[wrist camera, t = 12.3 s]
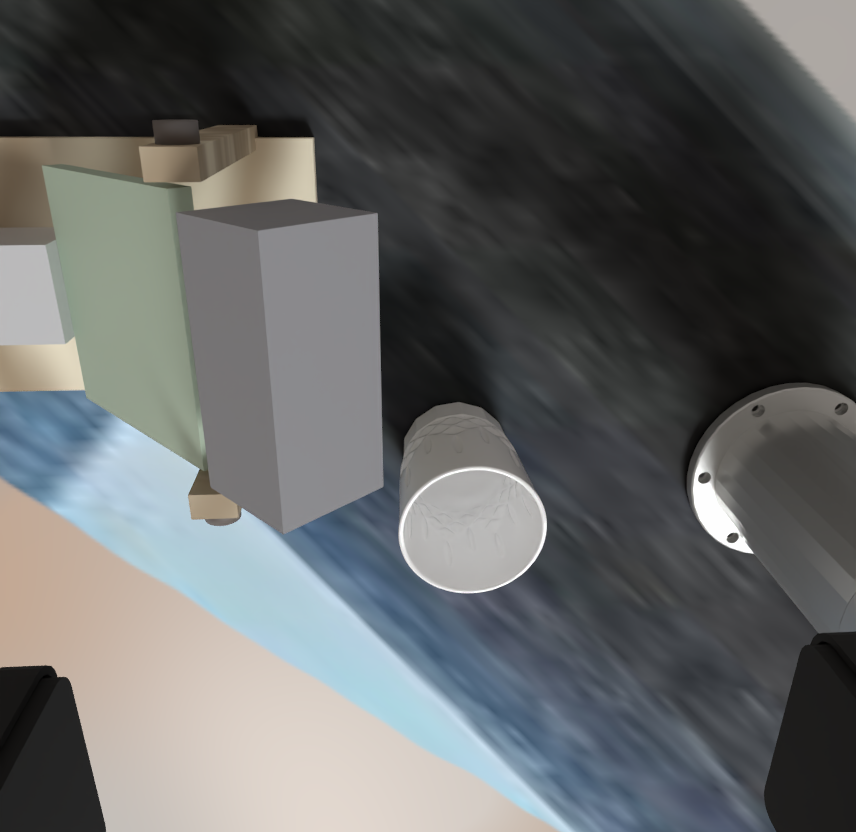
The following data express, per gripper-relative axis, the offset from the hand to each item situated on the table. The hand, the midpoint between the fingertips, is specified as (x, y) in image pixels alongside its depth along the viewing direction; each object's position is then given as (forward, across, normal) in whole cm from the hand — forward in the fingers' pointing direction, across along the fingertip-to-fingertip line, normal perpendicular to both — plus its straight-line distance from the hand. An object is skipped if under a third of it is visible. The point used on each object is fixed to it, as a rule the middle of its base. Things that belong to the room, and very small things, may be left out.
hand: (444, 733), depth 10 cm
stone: (+33, +17, +2) cm, 37 cm away
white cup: (+36, -4, +14) cm, 39 cm away
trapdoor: (+27, +7, +2) cm, 28 cm away
